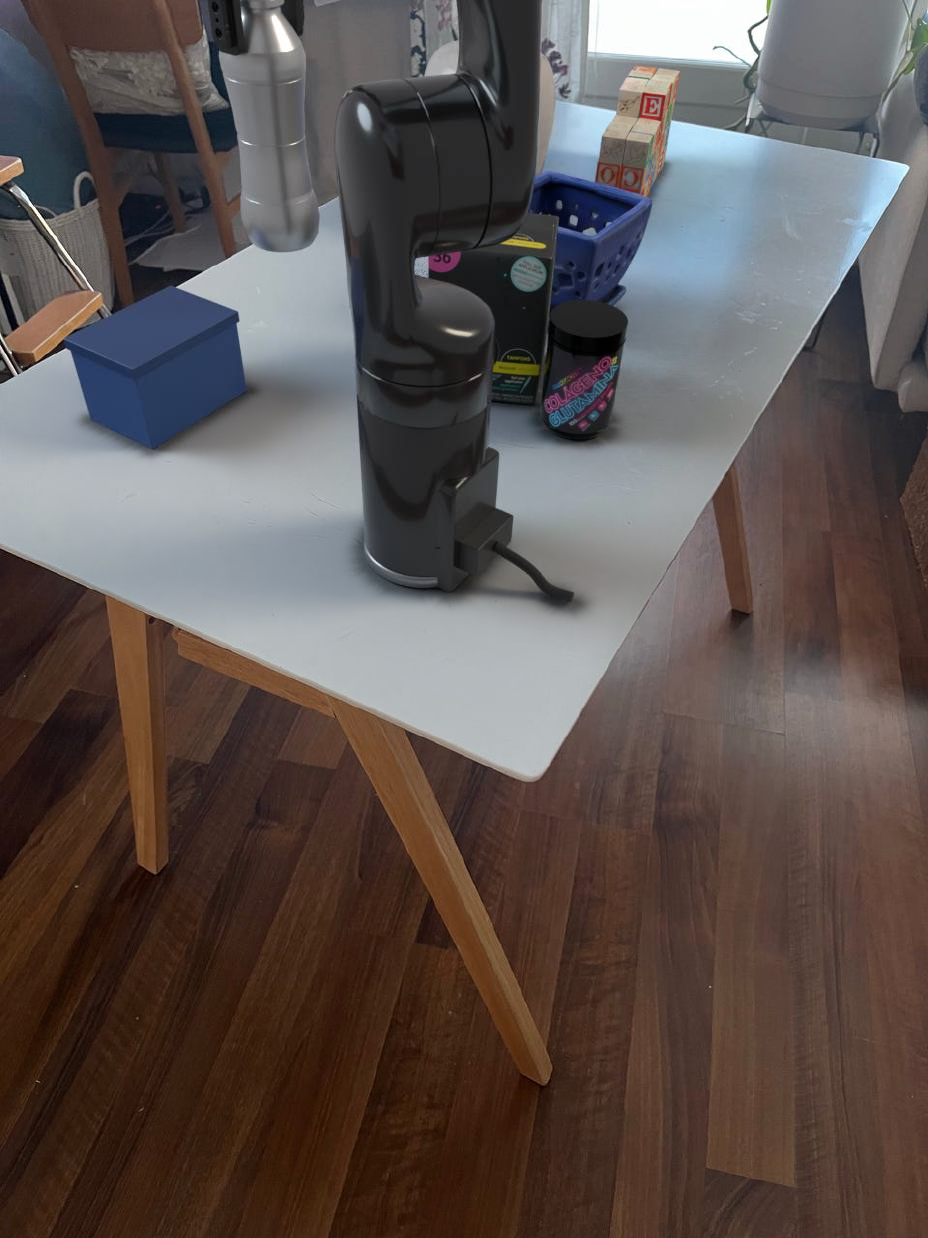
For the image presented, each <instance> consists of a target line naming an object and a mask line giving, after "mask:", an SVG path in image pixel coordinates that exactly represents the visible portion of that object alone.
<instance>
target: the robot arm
mask: <svg viewBox="0 0 928 1238" xmlns="http://www.w3.org/2000/svg"><path fill="white" fill-rule="evenodd" d="M455 1H456V10H457V24H458V25H457V26H458V40H459V56H458V66H457V70H456V73H455V74H445V75H435V76H417V77H416V76H415V77H405V78H395V79H383V80H373V81H367V82H361V83H357V84H355V85H353V86H351V87H350V88H348V89H347V90H346V92H345V93H344V94H343V95H342V97H341V100H340V102H339V105H338V108H337V111H336V115H335V123H334V130H333V131H334V133H333V135H334V136H333V139H334V149H333V150H334V163H335V165H334V166H335V175H336V176H335V177H336V186H337V194H338V204H339V212H340V219H341V228H342V236H343V246H344V247H343V248H344V256H345V267H346V281H347V282H346V283H347V294H348V301H349V310H350V317H351V325H352V333H353V350H354V351H353V352H354V369H355V388H356V404H357V405H356V407H357V427H358V444H359V462H360V480H361V498H362V515H363V530H364V532H363V552H364V556H365V559H366V562H367V563H368V565H369V566H370V568H371V569H372V570H373V571H374V572H375V573H377V574H378V575H379V576H380V577H382V578H383V579H386V580H387V581H389V582H391V583H394V584H397V585H401V586H404V587H408V588H409V587H410V588H418V589H430V588H431V589H432V588H438V589H441V590H443V591H445V592H449V593H452V592H453V591H454V590H455V589H456V588H457V587H458V586H459V585H460V584H461V583H462V582H464V580H465V579H466V578H467V577H468V576H469V575H471V576H473V577H478V576H479V575H480V574H481V573H482V572H483V571H484V570H485V569H486V568H487V567H488V566H489V565H490V564H491V563H492V562H493V561H494V560H495V559H496V558H497V557H498V556H500V557H502V558H503V559H504V560H506V561H508V562H510V563H511V564H512V565H514V566H516V567H517V568H518V569H520V570H521V571H523V573H525V574H526V575H528V577H530V578H531V580H532V581H533V582H534V583H535V585H536V586H537V588H539V589H540V590H541V591H542V592H543V593H545V594H546V595H548V596H549V597H551V598H554V599H557V600H561V601H564V602H568V603H572V601H573V599H574V597H575V591H572V590H567V589H565V588H560V587H558V586H555V585H554V584H552V583H551V582H549V581H548V580H547V579H546V577H545V576H544V575H543V573H542V572H541V571H540V570H539V569H538V568H537V566H535V565H534V564H533V563H532V562H530V561H529V560H528V559H526V558H525V557H523V556H522V555H521V554H519V553H517V552H516V551H514V550H512V549H511V548H509V547H508V546H509V545H510V544H511V543H512V538H513V526H514V517H515V516H514V515H513V514H512V513H510V512H506V511H505V510H502V509H500V508H497V497H498V484H499V483H498V482H499V470H500V468H499V466H500V452H499V450H498V449H495V448H493V447H490V446H489V444H490V430H491V429H490V428H491V411H492V400H491V397H492V383H493V367H494V352H495V336H496V325H495V319H494V315H493V313H492V311H491V309H490V307H489V306H488V305H487V304H486V303H485V302H484V301H483V300H482V299H481V298H480V297H479V296H477V295H476V294H474V293H472V292H471V291H469V290H467V289H465V288H462V287H460V286H457V285H454V284H451V283H447V282H443V281H439V280H435V279H430V278H428V277H426V276H422V275H419V274H416V271H415V268H416V267H415V266H416V260H417V259H420V258H427V257H428V256H434V255H441V254H447V253H453V252H460V251H466V250H473V249H478V248H482V247H488V246H493V245H497V244H500V243H503V242H505V241H508V240H510V239H511V238H513V237H514V236H515V235H516V234H517V232H518V231H519V230H520V229H521V227H522V226H523V224H524V222H525V219H526V217H527V214H528V210H529V207H530V204H531V200H532V195H533V190H534V183H535V176H536V166H537V153H538V132H539V106H540V72H541V53H542V37H543V36H542V35H543V34H542V33H543V3H544V2H543V0H455ZM304 6H305V5H304V0H284V4H282V5H280V7H281V11H282V13H283V15H284V16H285V18H286V19H287V20H288V22H289V23H290V24H291V26H292V27H293V29H294V31H295V32H296V34H297V36H298V37H299V38H300V37H302V36H303V34H304V27H305V10H304V9H305V7H304ZM207 7H208V14H209V21H210V28H211V29H210V30H211V37H212V40H213V43H214V44H215V46H216V47H217V50H218V51H219V50H220V51H221V52H223V53H226V54H230V55H234V56H237V55H240V54H243V53H244V52H245V40H244V31H243V22H242V14H241V5H240V0H207Z"/></svg>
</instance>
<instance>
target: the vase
mask: <svg viewBox="0 0 928 1238" xmlns="http://www.w3.org/2000/svg"><path fill="white" fill-rule="evenodd" d="M458 56H459V39H457V40H454V41H453V40H452V41H450V42H448V43H445V44H444V45H441V46H440V47H439V48H438V49H436V50H435V51H434V52H433V54H432V55H431V57H430V59H428V63H427V65H426V68H425V71H424V76H435V75H445V74H455V73H456V70H457V66H458ZM424 76H423V77H424ZM556 96H557V95H556V82H555V76H554V72H553V69H552V65H551V63H550V61H549V60H548V58H547V56H546V55H545V54H543V53H542V52H541V72H540V106H539V132H538V153H537V166H536V176H537V175H539V174H541V173H543V170H544V166H545V164H546V159H547V155H548V152H549V148H550V147H549V146H550V143H551V138H552V133H553V129H554V121H555V114H556V103H557V102H556V99H557V97H556ZM536 176H535V177H536Z"/></svg>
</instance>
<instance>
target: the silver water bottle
mask: <svg viewBox="0 0 928 1238" xmlns="http://www.w3.org/2000/svg"><path fill="white" fill-rule="evenodd" d="M282 4H284V0H240V5H241V14H242V22H243V31H244V40H245V52H244V53H243V54H240V55H237V56H234V55H230V54H226V53H223V52H221V51H220V50H219V49H218V60H219V65H220V70H221V72H222V77H223V81H224V84H225V88H226V91H227V95H228V99H229V103H230V107H231V111H232V116H233V121H234V122H233V123H234V127H235V130H236V132H237V134H236V138H237V144H238V149H239V151H238V152H239V165H240V166H239V168H240V183H241V186H240V187H241V190H240V200H239V204H240V205H239V206H240V208H239V209H240V214H239V215H240V220H241V223H242V226H243V229H244V233H245V236H246V238H248V240H249V241H250V243H251V244H253V246H255V247H256V248H258V249H260V250H262V251H265V252H271V253H293V252H298V251H302V250H304V249H307V248H309V247H311V246H312V245H313V243H314V242H315V240H316V238H317V236H318V235H319V230H320V229H319V228H320V219H321V217H320V215H321V214H320V211H319V210H320V209H319V205H318V200H317V196H316V192H315V190H314V188H313V181H312V177H311V176H312V175H311V170H310V164H309V157H308V151H307V143H306V142H307V139H306V132H305V131H306V117H305V102H306V101H305V98H306V80H307V79H306V77H307V76H306V75H307V72H306V71H307V55H306V51H305V48H304V46H303V42H302V41H301V39H300V36H299V37H298V36H297V34H296V32H295V31H294V29H293V27H292V26H291V24H290V23H289V22H288V20H287V19H286V18H285V16H284V15H283V13H282V11H281V7H280V5H282Z"/></svg>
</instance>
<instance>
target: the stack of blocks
mask: <svg viewBox="0 0 928 1238" xmlns="http://www.w3.org/2000/svg"><path fill="white" fill-rule="evenodd" d="M680 72H681V71H680V70H675V69H668V68H660V67H659V68H657V67H650V66H641V65H635V66H634V67H633V68H632V70H631V71H629V73H628V75H627V77H626V78H625V79H624V81H623V83H622V84H621V86H620V88H619V89H618V90H619V91H618V98H617V104H616V105H617V106H616V112H615V116H614V117H613V118H612V120H611V121H610V122H609V123H608V125H607V127H606V128H605V130H604V131H603V134H602V135H601V141H600V148H599V156H598V161H597V163H596V171H595V178H594V179H595V180H594V182H596V183H600V184H604V185H608V186H612V187H615V188H619V189H622V190H626V191H629V192H633V193H636V194H639V195H642V196H645V197H648V195H649V194H650V191H651V188H652V187H653V185H654V183H655V181H656V179H657V178H658V176H659V174H660V173H661V171H662V169H663V167H664V165H665V160H666V156H667V151H668V144H669V136H670V130H671V124H672V119H673V116H674V115H673V114H674V109H675V103H676V98H677V97H676V96H677V91H678V87H679V81H680V75H681V73H680Z"/></svg>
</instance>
